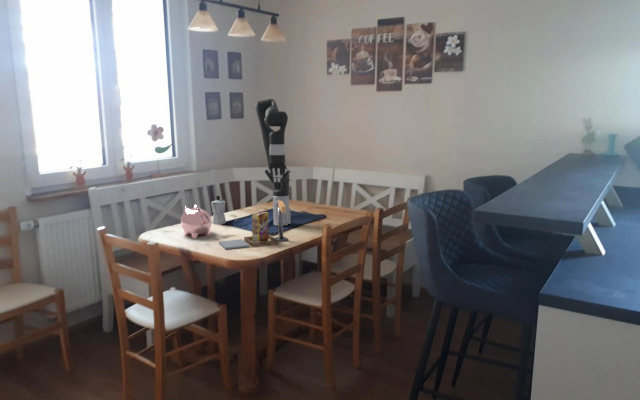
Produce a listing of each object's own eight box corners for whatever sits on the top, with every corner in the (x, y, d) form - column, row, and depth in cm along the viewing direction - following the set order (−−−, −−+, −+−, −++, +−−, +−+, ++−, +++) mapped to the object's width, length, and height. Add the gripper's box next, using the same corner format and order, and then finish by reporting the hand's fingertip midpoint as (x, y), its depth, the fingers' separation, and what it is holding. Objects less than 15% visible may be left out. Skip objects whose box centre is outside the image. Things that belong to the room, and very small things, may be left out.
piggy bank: (200, 230, 288) (198, 203, 286) (217, 235, 276) (216, 206, 273) (175, 235, 278) (174, 206, 275) (192, 240, 265) (191, 210, 263)
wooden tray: (269, 238, 268) (269, 234, 268) (277, 243, 256) (277, 240, 256) (244, 240, 263) (244, 237, 263) (251, 246, 251) (251, 242, 250)
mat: (241, 241, 263) (241, 239, 262) (249, 247, 250) (249, 245, 250) (219, 243, 258) (218, 241, 258) (225, 249, 245) (225, 247, 245)
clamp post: (284, 238, 268) (283, 205, 265) (288, 240, 262) (287, 207, 260) (273, 239, 265) (272, 206, 263) (277, 242, 260) (276, 208, 257)
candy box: (259, 244, 255) (258, 215, 252) (252, 243, 257) (251, 214, 254) (269, 241, 262) (268, 212, 260) (262, 240, 264) (261, 211, 262)
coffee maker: (220, 228, 294) (219, 197, 291) (207, 227, 297) (205, 197, 294) (232, 223, 308) (231, 194, 305) (220, 222, 311) (218, 193, 308)
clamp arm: (276, 205, 262) (276, 200, 262) (283, 205, 263) (282, 199, 262) (280, 212, 242) (280, 206, 242) (287, 212, 243) (287, 206, 242)
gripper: (293, 153, 242) (293, 189, 245) (267, 153, 246) (268, 188, 249) (287, 154, 235) (288, 191, 238) (261, 154, 239) (262, 190, 242)
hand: (278, 189), depth 243 cm, fingers closed
